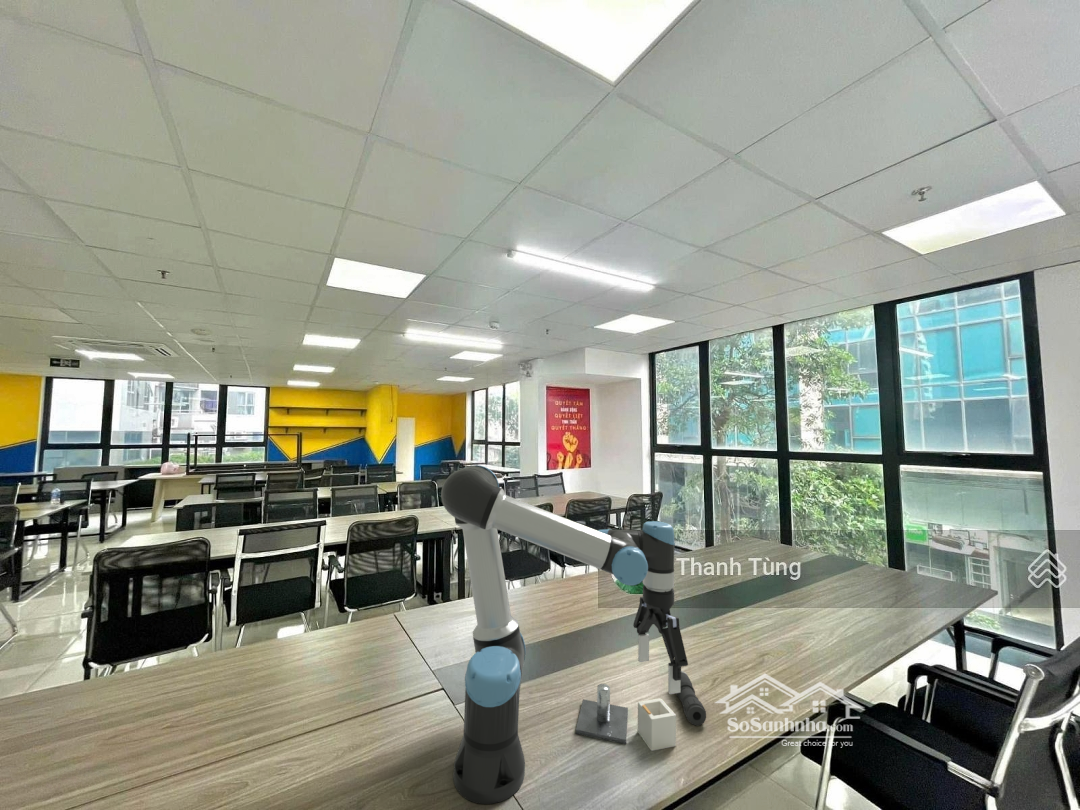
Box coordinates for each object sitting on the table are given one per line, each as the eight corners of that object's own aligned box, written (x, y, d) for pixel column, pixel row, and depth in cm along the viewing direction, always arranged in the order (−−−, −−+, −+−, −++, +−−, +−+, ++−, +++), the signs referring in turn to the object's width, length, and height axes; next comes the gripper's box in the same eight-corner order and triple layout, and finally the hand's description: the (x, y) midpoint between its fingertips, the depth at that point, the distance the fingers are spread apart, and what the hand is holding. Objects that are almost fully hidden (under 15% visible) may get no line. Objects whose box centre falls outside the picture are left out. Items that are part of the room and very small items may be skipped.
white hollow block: (675, 745, 99) (676, 713, 99) (651, 750, 97) (651, 718, 97) (660, 727, 105) (660, 696, 105) (637, 731, 103) (637, 700, 104)
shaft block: (626, 744, 99) (626, 706, 99) (575, 733, 102) (576, 697, 102) (627, 711, 110) (628, 678, 111) (582, 703, 113) (583, 670, 114)
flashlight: (708, 728, 105) (708, 706, 106) (686, 727, 106) (686, 704, 106) (689, 690, 121) (689, 671, 121) (670, 689, 121) (670, 670, 121)
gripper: (704, 605, 92) (704, 705, 91) (645, 569, 116) (645, 648, 115) (674, 608, 90) (674, 711, 89) (621, 571, 114) (620, 651, 113)
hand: (658, 675), depth 102 cm, fingers open, 13 cm apart
